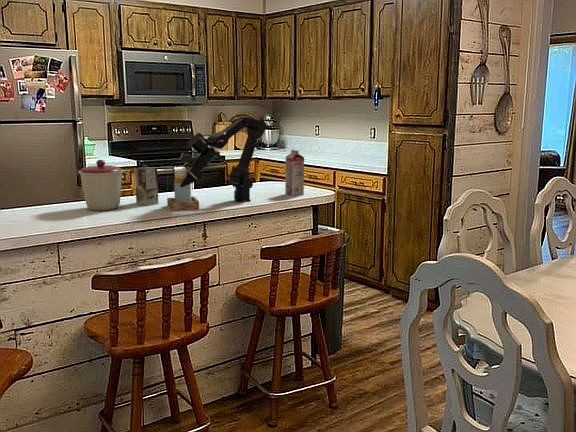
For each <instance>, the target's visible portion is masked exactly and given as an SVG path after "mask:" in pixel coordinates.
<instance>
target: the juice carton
mask: <svg viewBox="0 0 576 432" xmlns="http://www.w3.org/2000/svg"><path fill="white" fill-rule="evenodd" d="M284 189H285V195H287V194H288V196H291V197H294V196H295V197H296V196H297V197H298V196H305V195H304V194H305V193H304V190H305V156H303V155H301V154H300V153H299V150H297V149H291V151H290V153H289V154H287V155H286V156H285V188H284Z"/></svg>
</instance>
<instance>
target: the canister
mask: <svg viewBox="0 0 576 432" xmlns="http://www.w3.org/2000/svg"><path fill="white" fill-rule="evenodd" d="M95 163H96V165H90V166H85V167H83V168H82V169H80V170H78V174H80V179H81V181H80V182H81V185H82V190H83V191H82V192H83V196H84V200H85V204H86V207H87V208H88V209H89V210H91V211H99V212H100V211H102V212H103V211H111V210H114V209H117V208H119V206H120V204H121V197H122V195H121V193H122V179H123V178H122V176H123V172H124V169H122V168H120V167H119V166H115V165H106V161H105V160H104V159H98V160H97V161H96V162H95Z"/></svg>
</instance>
